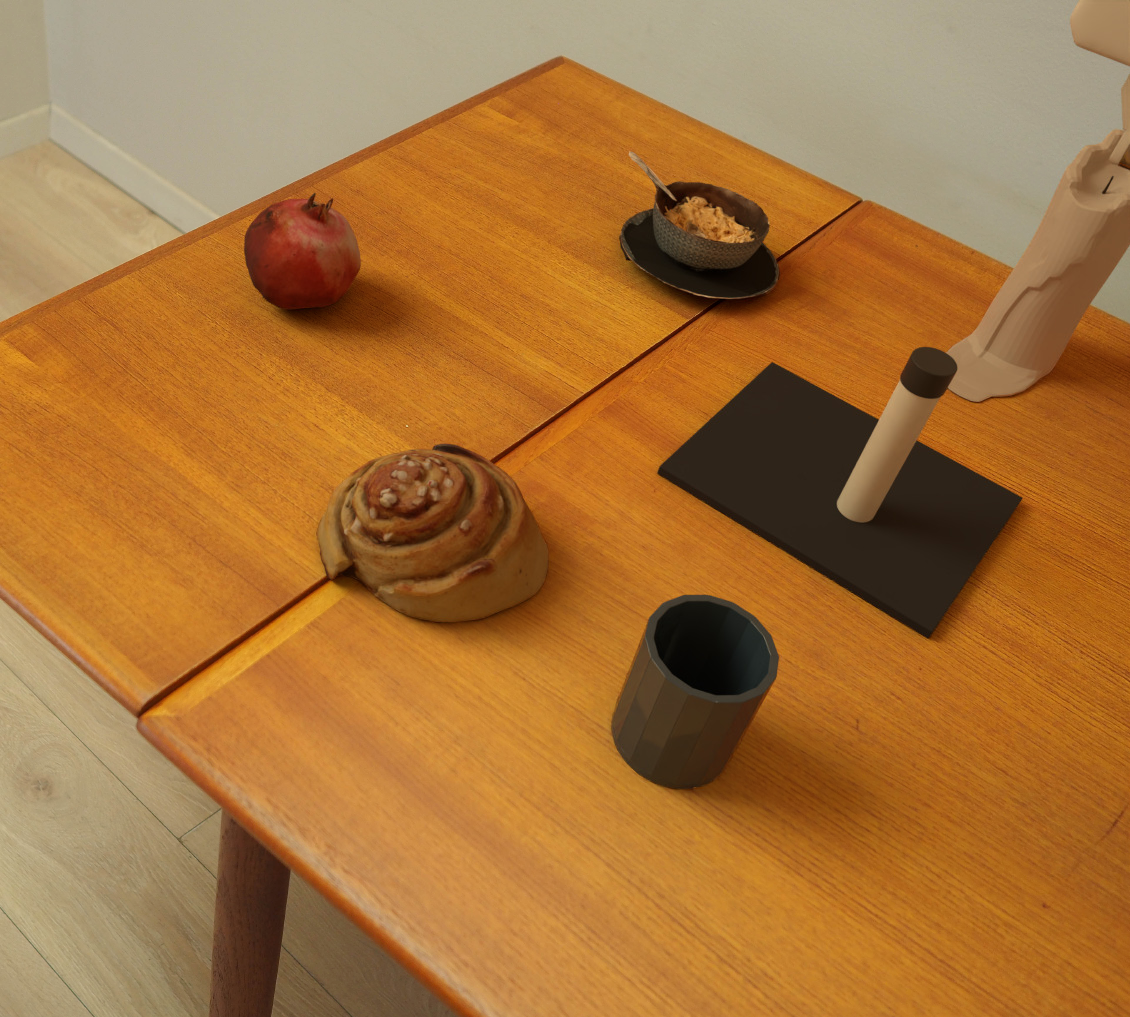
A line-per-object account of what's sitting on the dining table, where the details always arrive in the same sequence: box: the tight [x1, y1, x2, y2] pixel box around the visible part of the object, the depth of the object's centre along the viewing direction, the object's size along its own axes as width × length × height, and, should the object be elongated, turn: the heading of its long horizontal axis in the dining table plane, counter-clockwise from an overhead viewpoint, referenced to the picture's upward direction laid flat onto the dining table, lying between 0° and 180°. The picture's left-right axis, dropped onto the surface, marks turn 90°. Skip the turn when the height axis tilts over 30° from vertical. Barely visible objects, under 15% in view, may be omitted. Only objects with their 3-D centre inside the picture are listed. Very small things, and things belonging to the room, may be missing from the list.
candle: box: [945, 128, 1130, 403], centre depth 94 cm, size 7×14×20 cm, turn 131°
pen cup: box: [610, 594, 780, 790], centre depth 67 cm, size 7×7×9 cm
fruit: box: [243, 192, 362, 310], centre depth 92 cm, size 9×10×10 cm
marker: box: [837, 346, 957, 523], centre depth 80 cm, size 3×3×14 cm
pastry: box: [315, 443, 549, 623], centre depth 75 cm, size 13×15×8 cm
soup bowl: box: [618, 150, 781, 300], centre depth 104 cm, size 15×16×7 cm
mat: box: [656, 361, 1023, 639], centre depth 87 cm, size 22×18×1 cm
